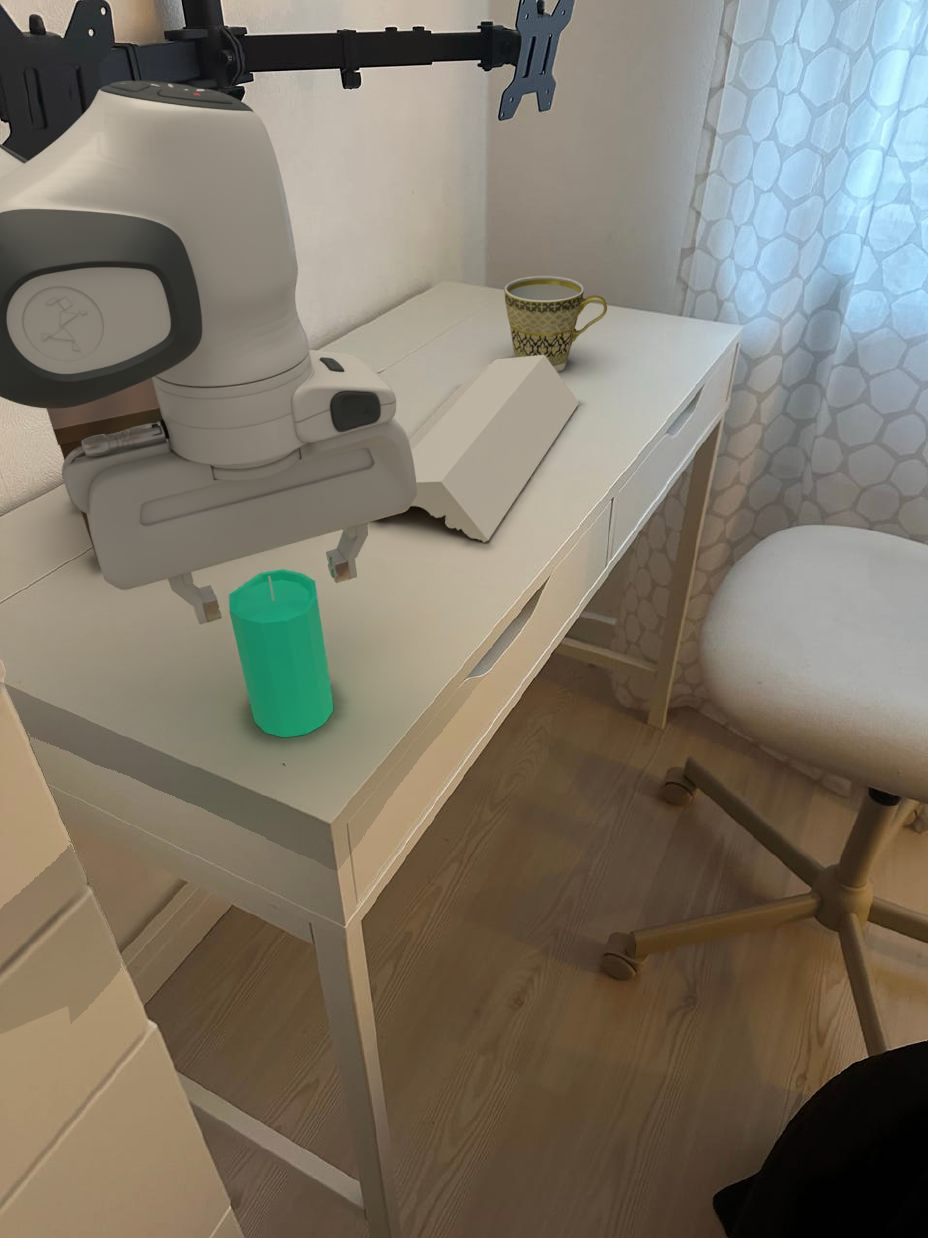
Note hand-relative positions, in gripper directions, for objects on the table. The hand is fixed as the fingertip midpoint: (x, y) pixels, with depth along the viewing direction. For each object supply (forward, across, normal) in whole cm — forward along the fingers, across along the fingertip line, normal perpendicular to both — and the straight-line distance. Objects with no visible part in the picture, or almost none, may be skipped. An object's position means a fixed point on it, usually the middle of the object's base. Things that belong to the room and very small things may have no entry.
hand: (277, 596), depth 60 cm
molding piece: (+11, +30, +30) cm, 43 cm away
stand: (+10, 0, +33) cm, 35 cm away
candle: (+10, 0, 0) cm, 11 cm away
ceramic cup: (+11, +50, +47) cm, 70 cm away
